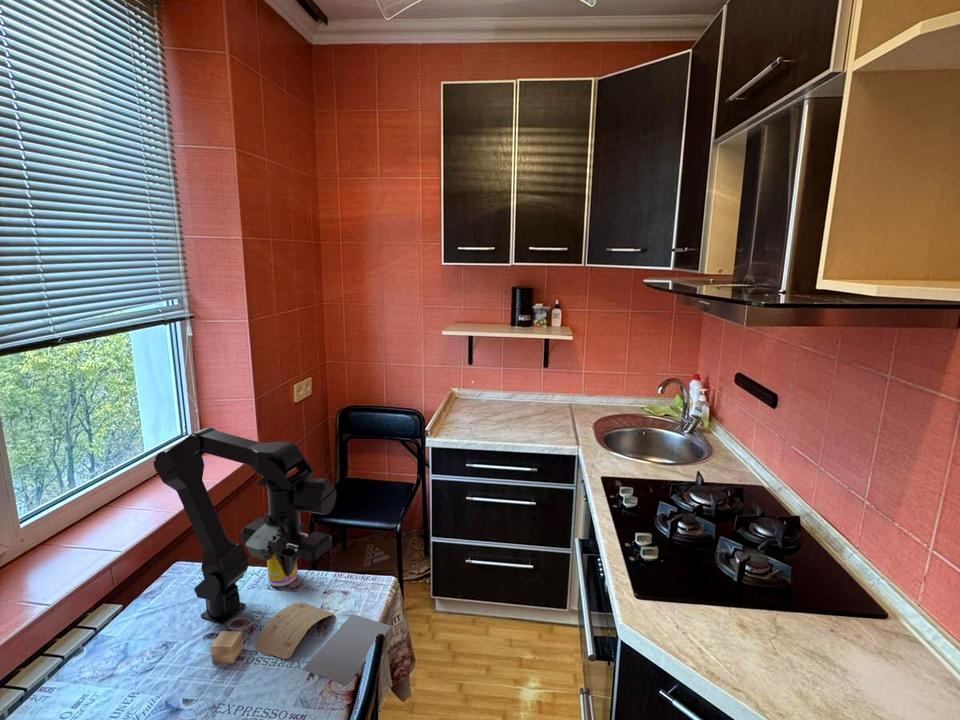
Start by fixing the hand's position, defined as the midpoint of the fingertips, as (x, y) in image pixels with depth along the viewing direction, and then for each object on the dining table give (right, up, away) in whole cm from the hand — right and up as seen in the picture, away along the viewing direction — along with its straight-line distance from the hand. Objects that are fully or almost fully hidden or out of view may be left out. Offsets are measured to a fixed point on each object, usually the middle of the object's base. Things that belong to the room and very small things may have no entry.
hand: (288, 574), depth 102 cm
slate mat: (+14, -13, -3) cm, 19 cm away
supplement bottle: (-8, -9, +18) cm, 22 cm away
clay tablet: (+5, -13, 0) cm, 14 cm away
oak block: (-10, -14, -6) cm, 18 cm away
